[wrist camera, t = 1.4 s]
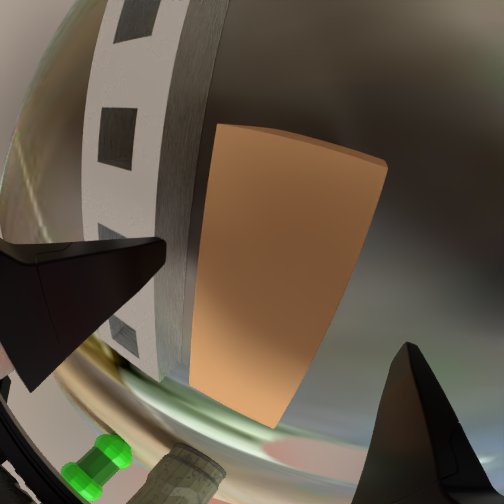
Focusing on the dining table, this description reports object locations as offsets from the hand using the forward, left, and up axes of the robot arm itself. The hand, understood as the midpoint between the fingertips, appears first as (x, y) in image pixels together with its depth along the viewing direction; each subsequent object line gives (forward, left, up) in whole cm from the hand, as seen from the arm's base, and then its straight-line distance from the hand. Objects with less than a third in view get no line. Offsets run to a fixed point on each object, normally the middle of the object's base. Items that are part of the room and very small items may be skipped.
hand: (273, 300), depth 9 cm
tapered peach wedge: (0, 0, -5) cm, 5 cm away
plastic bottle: (+25, +63, -5) cm, 68 cm away
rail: (+11, 0, -5) cm, 12 cm away
